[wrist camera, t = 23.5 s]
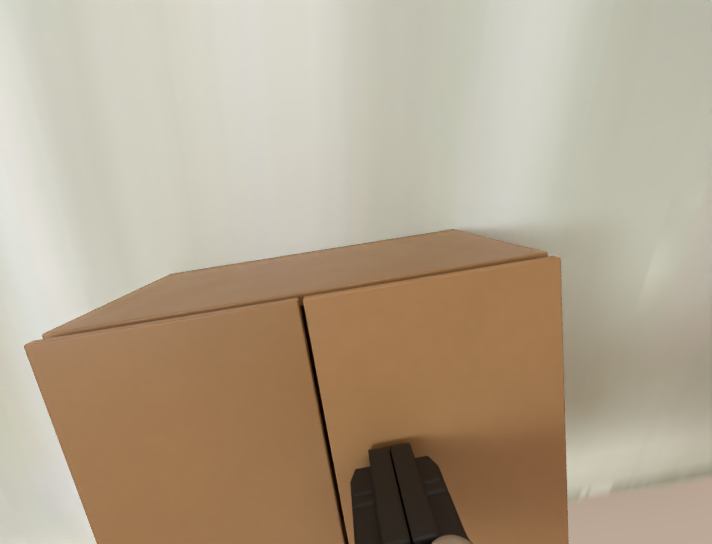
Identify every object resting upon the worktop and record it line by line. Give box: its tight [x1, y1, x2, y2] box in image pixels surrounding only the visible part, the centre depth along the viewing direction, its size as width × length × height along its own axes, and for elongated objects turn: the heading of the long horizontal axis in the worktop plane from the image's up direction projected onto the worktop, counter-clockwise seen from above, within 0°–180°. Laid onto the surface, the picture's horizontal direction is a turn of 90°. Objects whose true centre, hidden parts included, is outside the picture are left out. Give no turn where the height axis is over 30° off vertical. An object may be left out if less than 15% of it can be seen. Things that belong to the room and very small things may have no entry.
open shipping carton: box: [24, 229, 548, 544], centre depth 17 cm, size 17×13×10 cm
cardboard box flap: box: [303, 256, 568, 544], centre depth 13 cm, size 8×13×1 cm, turn 9°
